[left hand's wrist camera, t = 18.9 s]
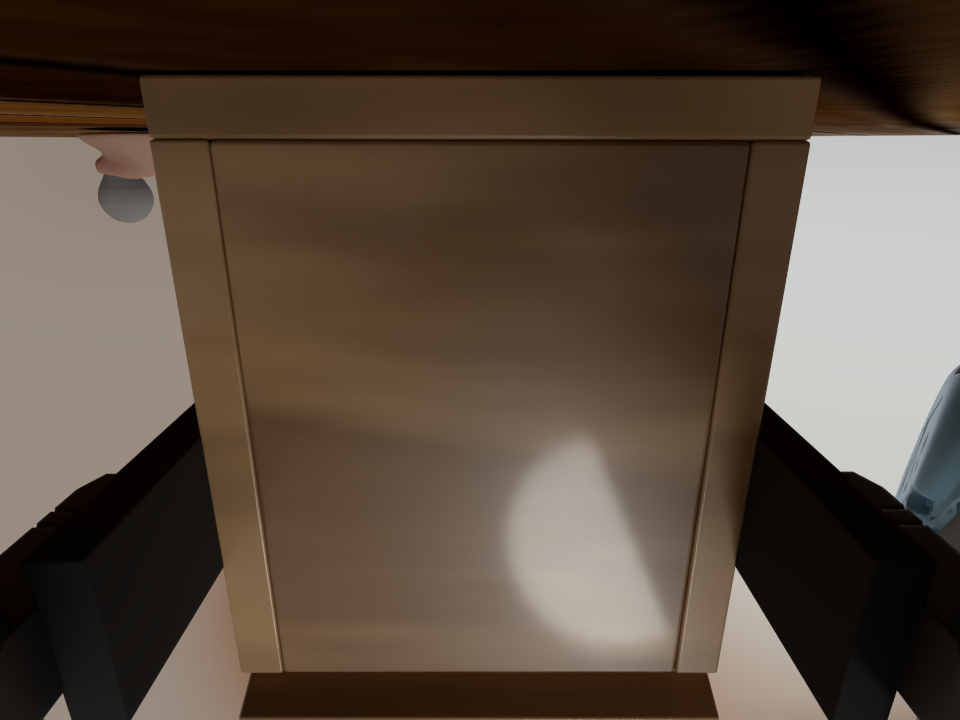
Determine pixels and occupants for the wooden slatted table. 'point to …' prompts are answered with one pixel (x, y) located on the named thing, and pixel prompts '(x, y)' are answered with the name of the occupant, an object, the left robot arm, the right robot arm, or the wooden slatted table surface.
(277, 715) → the lid
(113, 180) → the light bulb
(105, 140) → the anatomical model
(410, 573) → the chest
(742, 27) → the wooden slatted table surface
